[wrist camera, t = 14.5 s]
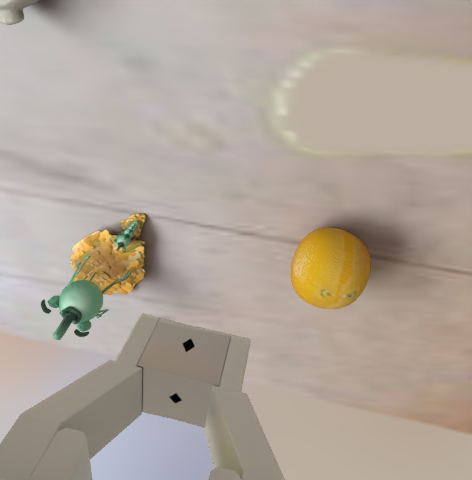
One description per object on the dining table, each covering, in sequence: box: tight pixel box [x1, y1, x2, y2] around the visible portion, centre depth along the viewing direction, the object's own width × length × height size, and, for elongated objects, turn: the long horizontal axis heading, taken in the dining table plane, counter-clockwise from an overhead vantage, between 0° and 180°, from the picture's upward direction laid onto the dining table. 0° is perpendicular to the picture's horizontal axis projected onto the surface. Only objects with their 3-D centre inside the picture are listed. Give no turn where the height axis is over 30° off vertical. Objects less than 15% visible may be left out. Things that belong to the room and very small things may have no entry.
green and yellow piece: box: [41, 214, 146, 340], centre depth 47 cm, size 10×18×15 cm, turn 130°
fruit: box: [291, 228, 371, 309], centre depth 41 cm, size 9×8×8 cm
